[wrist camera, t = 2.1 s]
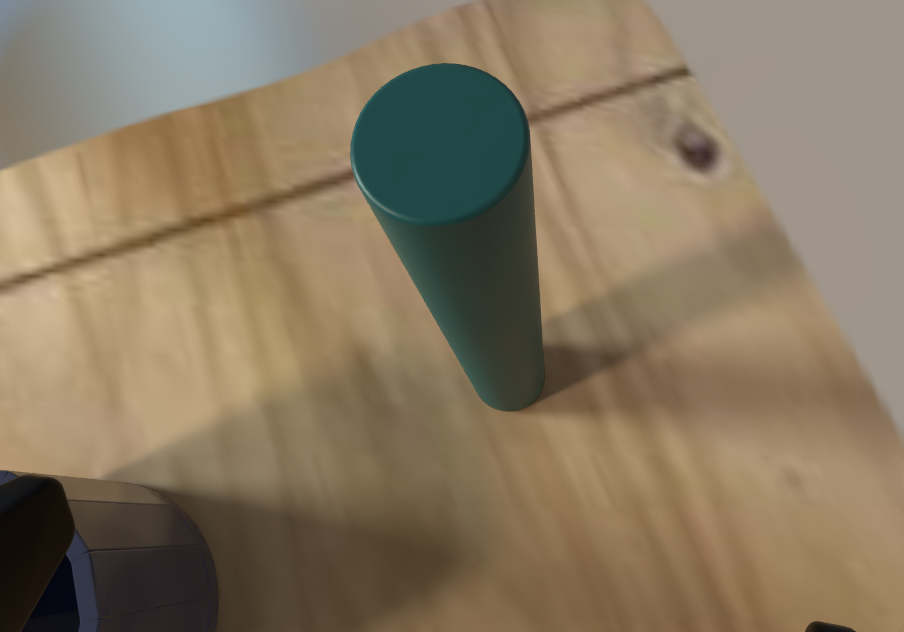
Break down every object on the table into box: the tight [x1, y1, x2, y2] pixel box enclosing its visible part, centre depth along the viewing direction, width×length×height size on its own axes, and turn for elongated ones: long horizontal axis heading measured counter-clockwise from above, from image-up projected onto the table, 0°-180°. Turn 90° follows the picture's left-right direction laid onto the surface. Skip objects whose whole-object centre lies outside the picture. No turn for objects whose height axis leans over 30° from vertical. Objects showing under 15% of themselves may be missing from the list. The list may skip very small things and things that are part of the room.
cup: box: [0, 470, 218, 632], centre depth 17 cm, size 7×7×6 cm
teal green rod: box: [350, 63, 545, 411], centre depth 14 cm, size 2×2×13 cm
